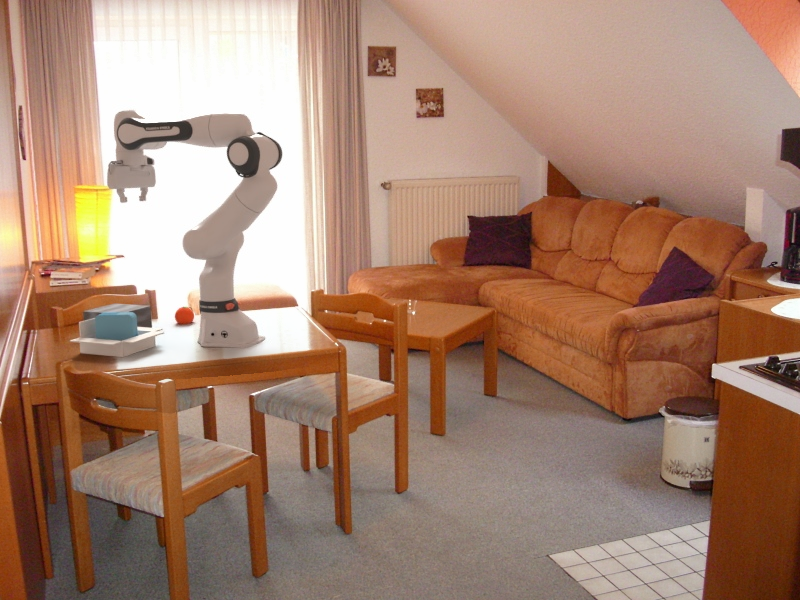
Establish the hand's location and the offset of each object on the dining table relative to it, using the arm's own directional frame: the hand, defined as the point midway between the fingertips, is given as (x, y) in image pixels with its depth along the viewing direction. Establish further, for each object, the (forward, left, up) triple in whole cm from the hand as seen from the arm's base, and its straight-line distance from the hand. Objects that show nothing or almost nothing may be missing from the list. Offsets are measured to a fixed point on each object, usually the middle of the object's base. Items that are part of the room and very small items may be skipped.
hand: (133, 201), depth 267 cm
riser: (+12, -1, -47) cm, 48 cm away
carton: (-5, +19, -47) cm, 50 cm away
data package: (-5, +19, -47) cm, 51 cm away
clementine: (-2, -21, -47) cm, 51 cm away
